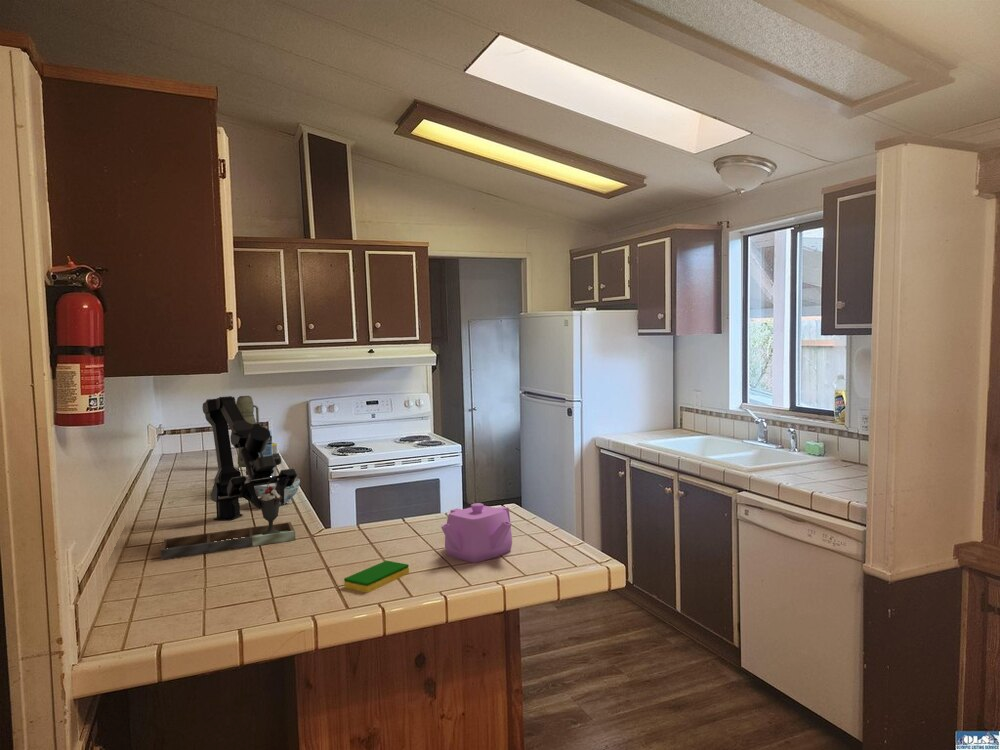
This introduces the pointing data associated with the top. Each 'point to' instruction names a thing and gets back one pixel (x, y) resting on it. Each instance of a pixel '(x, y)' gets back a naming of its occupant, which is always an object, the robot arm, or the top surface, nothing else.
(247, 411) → the thermos
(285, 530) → the tray
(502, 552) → the teakettle
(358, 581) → the dish sponge
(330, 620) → the top surface
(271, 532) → the sundae
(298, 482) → the chinaware
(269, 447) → the blue flat box
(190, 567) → the top surface
